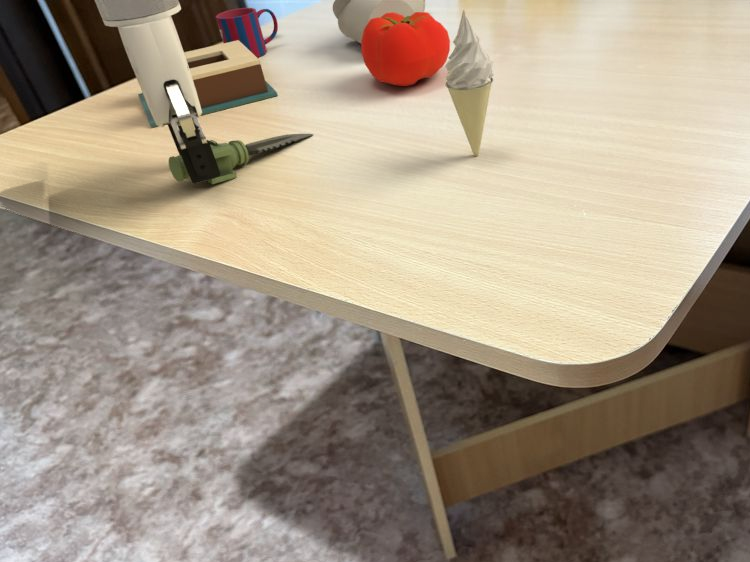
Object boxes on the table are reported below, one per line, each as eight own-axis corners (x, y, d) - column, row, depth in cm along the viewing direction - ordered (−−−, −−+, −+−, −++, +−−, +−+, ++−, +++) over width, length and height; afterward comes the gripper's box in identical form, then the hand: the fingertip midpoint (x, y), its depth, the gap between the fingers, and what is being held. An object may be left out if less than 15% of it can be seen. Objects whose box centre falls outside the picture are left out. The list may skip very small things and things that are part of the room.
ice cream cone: (484, 167, 74) (470, 17, 65) (445, 161, 76) (426, 15, 67) (507, 149, 77) (497, 3, 68) (469, 143, 80) (454, 2, 70)
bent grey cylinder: (315, 33, 121) (359, 56, 107) (313, -36, 116) (359, -20, 101) (406, 34, 129) (458, 56, 115) (409, -30, 124) (464, -15, 110)
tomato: (471, 81, 97) (465, 13, 91) (388, 103, 93) (376, 34, 88) (432, 59, 107) (424, -3, 101) (355, 78, 103) (343, 14, 98)
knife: (158, 146, 76) (181, 159, 73) (298, 113, 87) (323, 123, 84) (166, 179, 78) (188, 193, 75) (301, 143, 89) (325, 154, 87)
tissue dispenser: (151, 128, 95) (136, 90, 92) (139, 97, 107) (125, 63, 104) (277, 95, 100) (268, 59, 97) (253, 70, 112) (243, 37, 109)
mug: (224, 56, 121) (211, 14, 117) (278, 42, 124) (267, 1, 120) (234, 64, 116) (220, 20, 112) (290, 50, 119) (279, 7, 115)
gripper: (93, -5, 74) (157, 151, 84) (103, 25, 61) (177, 203, 72) (164, -20, 76) (218, 134, 87) (188, 6, 63) (248, 182, 74)
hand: (199, 165), depth 79 cm, fingers open, 8 cm apart
